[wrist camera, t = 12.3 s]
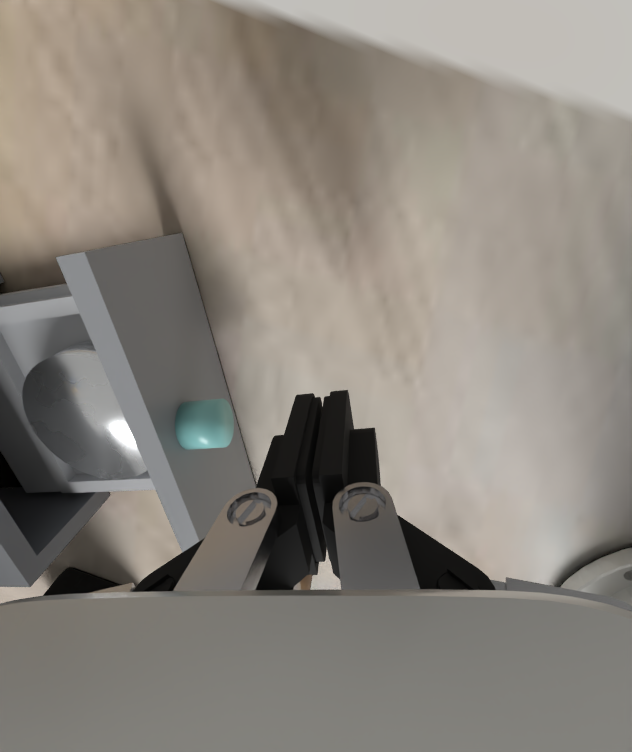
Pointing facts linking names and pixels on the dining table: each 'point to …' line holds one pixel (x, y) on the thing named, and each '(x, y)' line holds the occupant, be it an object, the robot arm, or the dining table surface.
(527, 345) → the dining table surface
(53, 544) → the housing
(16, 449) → the grey drawer
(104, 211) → the dining table surface
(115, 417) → the silver round disc
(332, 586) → the dining table surface
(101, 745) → the robot arm
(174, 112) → the dining table surface
